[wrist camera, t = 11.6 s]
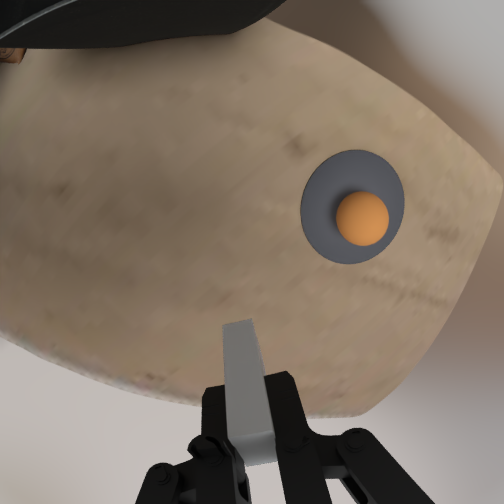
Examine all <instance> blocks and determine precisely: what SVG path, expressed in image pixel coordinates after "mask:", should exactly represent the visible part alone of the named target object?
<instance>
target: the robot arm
mask: <svg viewBox="0 0 504 504" xmlns="http://www.w3.org/2000/svg"><path fill="white" fill-rule="evenodd" d="M223 353H224V377H225V385H220V386H214V387H208V388H206V390H205V392H204V394H203V396H202V421H201V422H202V423H201V424H202V426H201V427H202V428H201V435H198V436H197V437H195V438H194V439H192V441H191V442H190V443H189V445H188V449H187V451H188V452H189V453H190V454H191V455H192V456H193V458H192V459H190V460H188V461H186V462H183V463H180V464H177V465H175V466H173V465H171V464H168V463H158V464H155V465H153V466H152V467H151V468H150V469H149V470H148V472H147V474H146V476H145V479H144V482H143V484H142V487H141V489H140V492H139V495H138V497H137V500H136V503H135V504H252V502H251V494H250V487H249V479H248V477H247V474H246V473H245V466H244V463H245V465H246V466H254V465H260V464H265V463H271V462H276V461H278V465H279V470H280V475H281V480H282V485H283V490H284V495H285V500H286V504H332V501H331V498H330V494H329V491H328V487H327V484H326V481H325V479H340V481H341V483H342V484H343V485H344V487H345V488H346V490H347V491H348V492H349V494H350V495H351V496H352V498H353V499H354V501H355V502H356V503H357V504H435V503H434V502H433V501H432V500H431V499H430V498H429V497H428V496H427V495H426V493H425V492H424V491H423V490H422V489H421V488H420V487H419V486H418V485H417V484H416V482H415V481H414V480H413V479H412V478H411V477H410V476H409V475H408V474H407V472H405V470H404V469H403V468H402V467H401V466H400V465H399V464H398V462H397V461H396V460H395V459H394V458H393V457H392V456H391V455H390V453H389V452H388V451H387V450H386V449H385V448H384V447H383V445H382V444H381V443H380V442H379V441H378V440H377V439H376V438H375V436H374V435H373V434H372V433H371V432H369V431H368V430H366V429H363V428H352V429H349V430H347V431H345V432H344V433H343V434H341V435H333V436H327V435H320V434H317V433H315V432H314V431H312V430H311V429H310V428H309V426H308V424H307V421H306V417H305V414H304V411H303V407H302V404H301V401H300V397H299V394H298V391H297V387H296V384H295V381H294V378H293V377H292V376H291V375H290V374H289V373H288V372H287V371H283V372H279V373H275V374H271V375H266V372H265V367H264V362H263V357H262V354H261V350H260V346H259V343H258V339H257V336H256V332H255V328H254V325H253V321H252V319H248V320H243V321H239V322H235V323H230V324H225V325H223Z"/></svg>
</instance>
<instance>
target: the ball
mask: <svg viewBox="0 0 504 504" xmlns="http://www.w3.org/2000/svg"><path fill="white" fill-rule="evenodd" d="M336 222H337V226H338V229H339V231H340V233H341V234H342V236H343V237H344V238H345V239H346V240H347V241H349V242H350V243H352V244H355V245H359V246H368V245H371V244H374V243H376V242H377V241H379V240H380V239H381V238H382V237H383V236H384V234H385V233H386V230H387V228H388V224H389V215H388V211H387V208H386V206H385V204H384V203H383V201H382V200H381V199H380V198H379V197H377V196H376V195H374V194H372V193H369V192H364V191H360V192H355V193H352V194H350V195H348V196H347V197H345V198H344V199H343V200H342V202H341V203H340V205H339V207H338V210H337V214H336Z"/></svg>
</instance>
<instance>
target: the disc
mask: <svg viewBox="0 0 504 504" xmlns="http://www.w3.org/2000/svg"><path fill="white" fill-rule="evenodd" d="M360 191H364V192H369V193H372V194H374V195H376V196H377V197H379V198H380V199H381V200H382V201H383V203H384V204H385V206H386V208H387V211H388V215H389V224H388V228H387V230H386V233H385V234H384V236H383V237H382V238H381V239H380V240H379V241H377V242H376V243H374V244H371V245H368V246H359V245H355V244H352V243H350V242H349V241H347V240H346V239H345V238H344V237H343V236H342V234H341V233H340V231H339V229H338V226H337V222H336V214H337V210H338V207H339V205H340V203H341V202H342V200H343V199H344V198H345V197H347V196H348V195H350V194H352V193H355V192H360ZM403 214H404V192H403V188H402V184H401V181H400V179H399V177H398V175H397V173H396V172H395V170H394V169H393V167H392V166H391V165H390V164H389V163H388V162H387V161H386V160H384V159H383V158H381V157H380V156H378V155H376V154H374V153H371V152H368V151H362V150H349V151H345V152H341V153H338V154H336V155H334V156H332V157H330V158H329V159H327V160H326V161H325V162H323V163H322V164H321V165H320V166H319V167H318V168H317V169H316V170H315V172H314V173H313V174H312V176H311V178H310V179H309V181H308V183H307V185H306V188H305V190H304V193H303V197H302V203H301V221H302V226H303V230H304V232H305V235H306V237H307V239H308V241H309V242H310V244H311V245H312V246H313V248H314V249H315V250H316V251H317V252H318V253H319V254H321V255H322V256H323V257H325V258H327V259H328V260H330V261H333V262H336V263H341V264H356V263H361V262H364V261H367V260H369V259H371V258H373V257H375V256H376V255H378V254H379V253H380V252H382V251H383V250H384V249H385V248H386V247H387V246H388V245H389V244H390V242H391V241H392V240H393V238H394V237H395V235H396V234H397V232H398V229H399V227H400V225H401V222H402V218H403Z"/></svg>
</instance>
